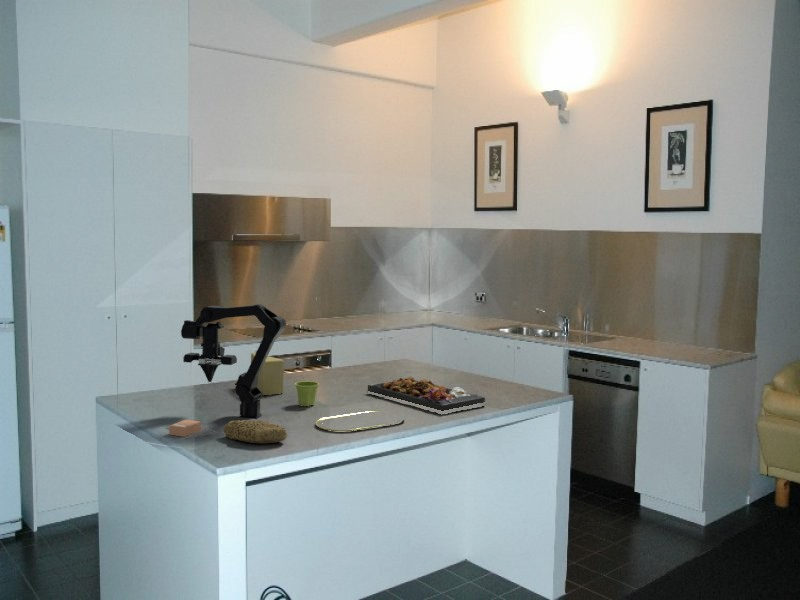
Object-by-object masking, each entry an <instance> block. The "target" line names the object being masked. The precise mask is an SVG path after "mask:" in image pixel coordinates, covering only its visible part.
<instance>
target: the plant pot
mask: <svg viewBox="0 0 800 600" xmlns="http://www.w3.org/2000/svg"><path fill="white" fill-rule="evenodd" d="M319 384H320V383H319V382H316V381H307V380H305V381H298V382H295V383H294V386H295V387H296V388H295V389H296V392H297V400H298V405H299V406H300V405H304V406H303V407H306V406H308V405H313V404H314V405H315V404H316V395H317V390H318V386H319ZM314 405H313V406H314ZM308 407H309V406H308Z"/></svg>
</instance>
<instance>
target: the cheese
mask: <svg viewBox="0 0 800 600" xmlns="http://www.w3.org/2000/svg"><path fill="white" fill-rule="evenodd" d="M255 354H256V352H252V353H250V363H251V362H252V360H253V358H254V356H255ZM284 375H285V361H284V360H283V359H281V358H276V357H274V356H273V357H272V356H269V355H268V356H267V358H266V360H265V363H264V365H263V367H262V369H261V371H260V373H259V376H258V384H257V388H258V389H259V390H260V391H261V392H262V396H264V395H269V396H273V395H272V394H279V393H283V394H284V387H285V386H284V381H285V379H284ZM279 395H280V394H279Z"/></svg>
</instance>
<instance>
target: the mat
mask: <svg viewBox="0 0 800 600" xmlns="http://www.w3.org/2000/svg"><path fill="white" fill-rule="evenodd" d="M165 429H166V430H168V431H169V427H165ZM217 434H220V432H219V431H216V430H214V429H212V428H210V427H208V426H206V425H203V424H201V431H198V432H196V433H193V434H190V435H188V436H185V437H183V436H180V437H182V438H184V439H185V440H186V439H194V438H197V437H198V438H199V437H205V436H211V435H217Z"/></svg>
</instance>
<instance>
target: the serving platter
mask: <svg viewBox="0 0 800 600" xmlns="http://www.w3.org/2000/svg"><path fill="white" fill-rule="evenodd" d="M381 411H382V410H381ZM381 411H379V410H378V411H377V410H374V411H365V412H364V411H363V412H357V413H350V414H349V413H348V414H343V415H336V416H328V417H322V418H319V419H318V420H316V421H315V426H316V427H317V428H318V427H319V429H320V428H321V429H320V430H322V429H324V430H323V431H325V430H331V431H352V430H353V431H354V430H360V429H366V428H372V427H377V426H383V425H387V424H388V423H385V424H378V425H373V426H366V427H358V428H352V429H336V428H335V429H333V428H327V427H323V426H321V425H320V426H318V423H319V422H321V421H323V420H327V419H332V418H338V417H345V416H350V415H356V414H361V413H369V412H381ZM389 424H392V422H391V423H389Z"/></svg>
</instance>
